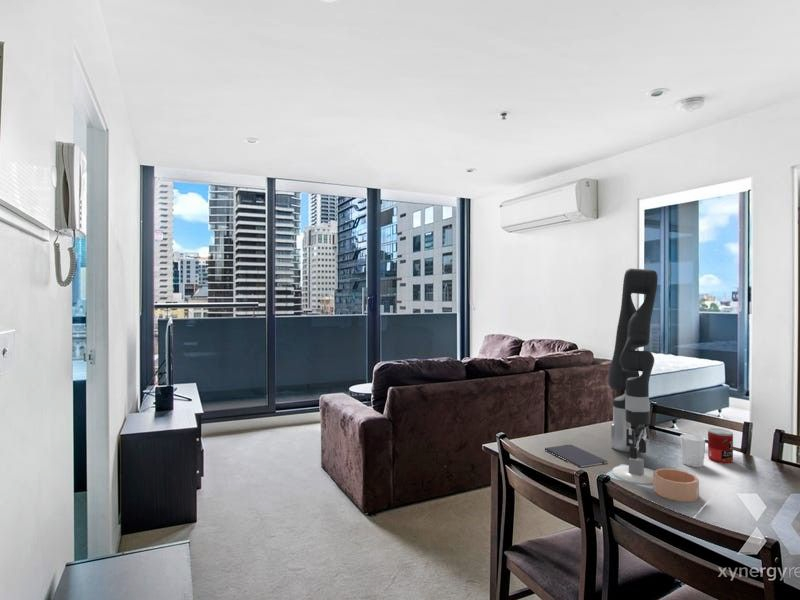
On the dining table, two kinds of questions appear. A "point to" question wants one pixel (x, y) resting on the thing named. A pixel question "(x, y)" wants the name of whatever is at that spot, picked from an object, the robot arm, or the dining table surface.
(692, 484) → the bowl
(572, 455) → the notebook
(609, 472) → the mat
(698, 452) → the white cup
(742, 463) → the dining table surface
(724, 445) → the canned food
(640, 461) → the lid
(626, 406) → the robot arm
